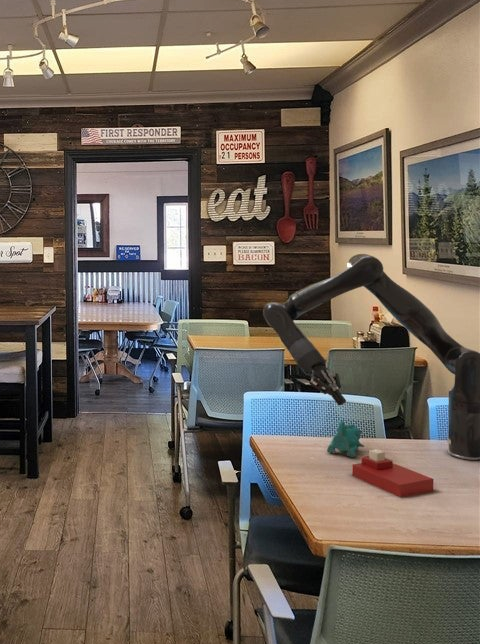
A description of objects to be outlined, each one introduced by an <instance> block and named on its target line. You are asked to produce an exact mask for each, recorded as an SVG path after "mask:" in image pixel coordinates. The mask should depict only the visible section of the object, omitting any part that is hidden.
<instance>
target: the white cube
mask: <svg viewBox="0 0 480 644" xmlns="http://www.w3.org/2000/svg"><path fill="white" fill-rule="evenodd" d="M368 452H369V453H368V456H369V458H370V459H372V460H375V461H377V462H378V461H384V460H385V458H386V456H385V455H386V453H385V451H383V450H380V449H377V448H375V449H369V451H368Z"/></svg>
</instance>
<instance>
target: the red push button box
mask: <svg viewBox="0 0 480 644" xmlns="http://www.w3.org/2000/svg"><path fill="white" fill-rule="evenodd" d="M360 459H361V462H360V463H359V462H358V463H353V464H352V466H351V468H352V471H351V472H352V473H351V475H352V477H353V478H356V479H358V480H360V481H363V482H365V483H368V484H370V485H372V486H374V487H376V488H378V489H381V490H384V491H386V492H387V493H390V494H392V495H394V496H397V497H399V498H404V497H408V496H409V497H410V496H414V495H419V494H425V493H429V492H434V478H433V477H429V476H427V475H424V474H422V473H419V472H417V471H414V470H412V469H409V468H407V467H404V466H402V465H399V464H397V463H394V461H393V460H391V459H389V458H386V457H385V460H384V461H378V462H377V461H375V460H372V459H370V458H369V455H365V456H361V457H360Z"/></svg>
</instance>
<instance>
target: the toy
mask: <svg viewBox="0 0 480 644" xmlns="http://www.w3.org/2000/svg"><path fill="white" fill-rule="evenodd" d="M361 435H362V430H359V428H357V427H356V425H355V424H353V423H350V424H345V421H344V420H341V421H339V424H338V427H337V432H336V434H335V435H334V436H333V437H332V440H331V441H330V442H329V445H328V447H327V449H326V452H327V453H329V454H330V455H333V454H334V455H335V454H336V450H338V451H340V452H343V453H346V456H347V457H350V459H353V458H356V457H357V455H356V452H357V451H358V450H359V448H360V447H362V448H365V445H364V444H363V443H361V442H360V439H361Z"/></svg>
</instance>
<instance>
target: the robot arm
mask: <svg viewBox="0 0 480 644" xmlns="http://www.w3.org/2000/svg"><path fill="white" fill-rule="evenodd" d="M362 287H364V288H365V289H366V290H368V291H369V292H370V293H371V294H372V295H373V296H375V298H377V300H378V301H379V302H380V303H381V305H382V306H383V307H384V309H386V310H387V311H388V312H389V313H390V315H392V317H394V318H395V320H396V321H397V322H398V323H399V324H400V325H401V326H402V327H404V328H405V329H406V330H407V331H408V332H409V333H410V334H411V335H413V336H414V337H415V338H416V339H417V340H418V341H419V342H421V343H422V344H423V345H425V346H426V347H427V349H429V350H430V351H431V352H432V353H433V354H434V355H435V357H436V358H437V359H438V360H439V361H440V362H441V364H443V366H444V367H445V368H446V370H448V371H449V372H450V373H451V374H452V375H454V384H453V387H451V388H449V390H448V437H447V439H446V440H447V443H448V450H447V454H449V455H450V456H452V457H454V458H458V459H461V460H466V461H467V460H468V461H480V352H478V351H477V350H474V349H471V348H467V347H465V346H463V345H462V344H460V343H459V342H458V341H456V340H455V339H454V338H453V337H452V336H451V335H450V334H449V333H447V331H446V330H445V329H444V328H443V326H442V324H441V322H440V321H439V319H438V317H436V315H435V314H434V313H433V312H432V310H431V309H430V308H429V307H428V306H426V304H424V303H423V302H422V301H421V300H420V299H419V298H418V297H416V296H415V295H414V294H412V293H411V292H410V291H409V290H407V289H405V288H404V287H402V286H401V285H400V284H398V283H397V282H395V281H394V280H393V279H391V277H390V276H389V275H387V273H386V272H385V271H384V264H383V263H382V261H381V260H380V259H379V258H377V257H376V256H374V255H371V254H368V253H358V254H354V255H352V256H351V257H350V258H349V260H348V261H347V265H346V268H345V269H344V270H343V271H341V272H339V273H337V274H335V275H332V276H331V277H328V278H326V279H322V280H320V281H317V282H315V283H312V284H309V285H307V286H306V287H303V288H301V289H299V290H297V291H295V292H294V293H292V294H291V295H289V296H288V297H289V298H288V300H287V301H284V302H283V303H280V302H277V301H270V302H267V303H266V304H265V305H264V307H263V309H262V315H263V318H264V320H265V321H266V323H267V325H268V326H269V327H271V328H272V329H273V330H274V332H275V333H276V334H277V336H278V338H279V340H280V341H281V343H282V344H283V345H284V347H285V348H286V349H287V351H288V352H289V354H290V356H291V357H292V359H293V360H294V362H295V363H296V364H297V366H298V367H299V369H300V370H301V371H302V373H304V375H305V376H309V378H310V379H311V380H309V382H308V383H309V385H311V386H312V387H313V388H314V389H317V390H318V391H319V392H321V394H323V395H329V396H331V398H332V399H333V400H334V402H335V403H336V405H338V406H343V405H345V403H347V400H346V397H344V396H343V394H342V393H341V392H340V389H341V388H342V385H341V380H340V376H339V373H338V372H335V373H332V372H331V370H330V369H329V368H328V367H327V366H326V362H327V360H326V359H325V357H324V356H323V355H322V354H321V352H320V351H319V350H318V349H317V347H316V346H315V345H314V344H313V342H312V341H310V339H309V338H308V337H307V335H305V333H304V332H303V331H302V330H301V328H300V327H298V325H297V324H296V323H295V320H296V319H298V318H299V317H300V316H301V315H303V314H305V313H307V312H309V311H311V310H313V309H315V308H317V307H319V306H321V305H322V304H324V303H326V302H328V301H331V300H332V299H334V298H336V297H339V296H341V295H343V294H346V293H349V292H351V291H353V290H356V289H359V288H362Z"/></svg>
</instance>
